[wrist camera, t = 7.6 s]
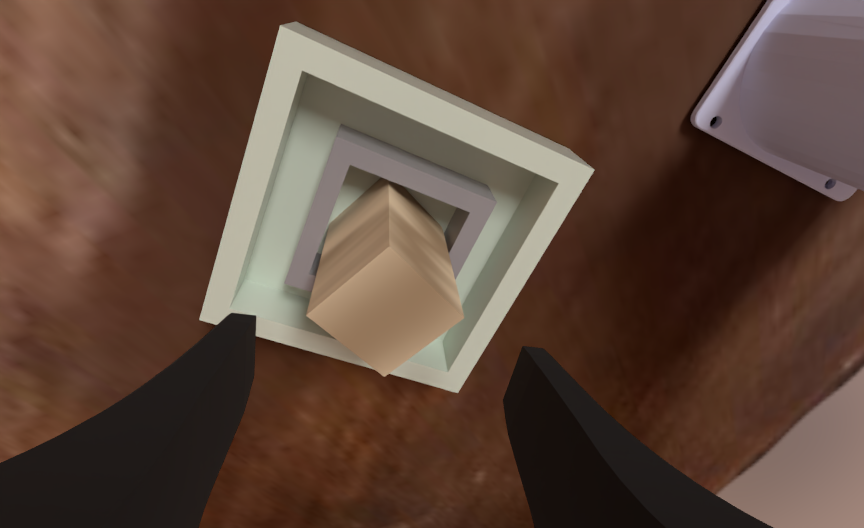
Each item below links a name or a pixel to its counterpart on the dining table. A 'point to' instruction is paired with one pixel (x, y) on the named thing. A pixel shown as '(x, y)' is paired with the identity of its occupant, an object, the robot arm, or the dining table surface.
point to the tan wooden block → (385, 278)
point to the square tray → (358, 170)
